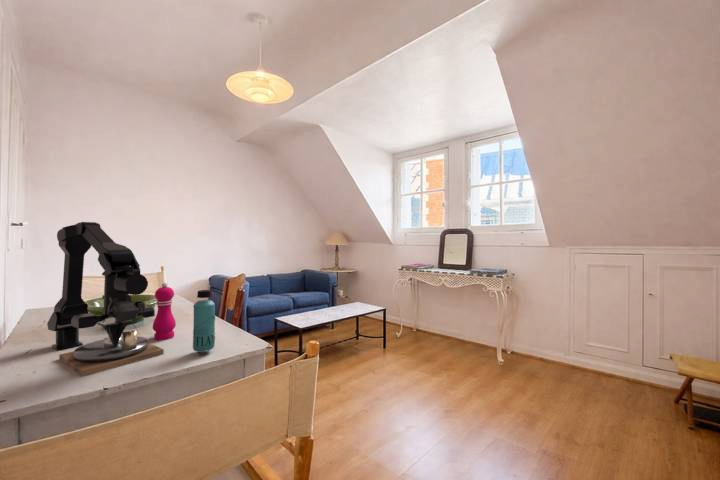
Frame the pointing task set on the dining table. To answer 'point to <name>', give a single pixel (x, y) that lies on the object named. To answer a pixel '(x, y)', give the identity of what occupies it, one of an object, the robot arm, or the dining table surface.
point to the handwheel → (111, 348)
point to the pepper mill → (164, 314)
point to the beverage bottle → (204, 322)
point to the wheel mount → (95, 367)
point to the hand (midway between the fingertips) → (115, 345)
